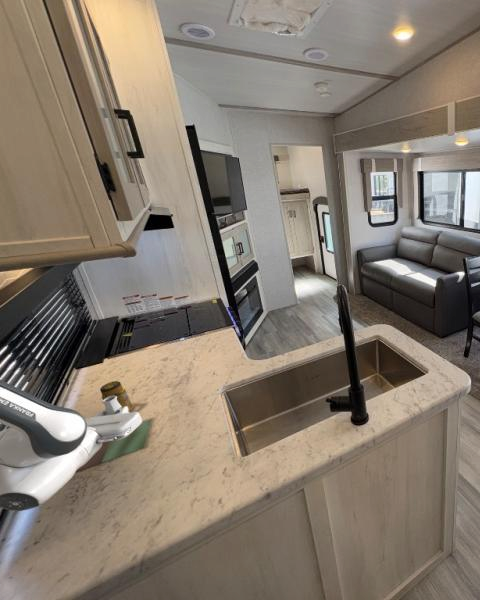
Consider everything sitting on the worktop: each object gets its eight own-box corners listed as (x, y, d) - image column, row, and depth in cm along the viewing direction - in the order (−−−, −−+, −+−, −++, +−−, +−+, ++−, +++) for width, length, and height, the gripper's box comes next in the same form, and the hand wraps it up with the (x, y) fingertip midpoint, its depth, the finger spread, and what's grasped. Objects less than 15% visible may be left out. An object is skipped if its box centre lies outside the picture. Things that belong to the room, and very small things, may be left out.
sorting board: (54, 481, 84) (53, 479, 83) (72, 446, 95) (71, 445, 95) (145, 448, 93) (144, 447, 92) (152, 420, 104) (151, 419, 104)
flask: (123, 434, 90) (110, 406, 87) (99, 434, 91) (85, 407, 87) (142, 416, 97) (131, 390, 93) (120, 417, 97) (108, 391, 94)
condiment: (122, 407, 112) (109, 379, 107) (144, 406, 111) (132, 378, 107) (104, 421, 105) (89, 392, 100) (128, 420, 105) (114, 391, 100)
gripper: (116, 430, 80) (150, 396, 93) (29, 441, 78) (76, 404, 91) (125, 448, 82) (157, 413, 95) (41, 459, 80) (85, 421, 93)
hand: (117, 409), depth 93 cm, fingers closed on flask, 3 cm apart
